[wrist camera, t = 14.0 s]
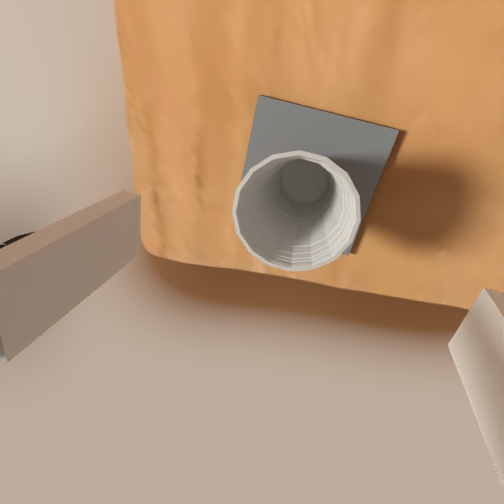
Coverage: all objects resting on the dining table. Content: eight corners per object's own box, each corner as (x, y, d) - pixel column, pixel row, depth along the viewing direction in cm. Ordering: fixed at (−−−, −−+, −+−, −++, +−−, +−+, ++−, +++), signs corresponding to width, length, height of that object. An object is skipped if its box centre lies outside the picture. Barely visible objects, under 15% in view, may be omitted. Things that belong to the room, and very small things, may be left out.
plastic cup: (348, 229, 40) (351, 281, 29) (259, 220, 42) (232, 266, 32) (363, 133, 35) (373, 155, 24) (261, 129, 37) (230, 147, 27)
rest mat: (398, 129, 35) (399, 130, 34) (348, 252, 42) (348, 255, 41) (260, 94, 36) (258, 95, 36) (235, 219, 44) (233, 221, 43)
